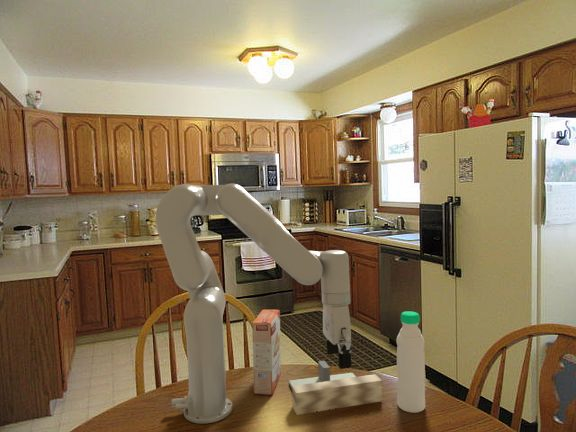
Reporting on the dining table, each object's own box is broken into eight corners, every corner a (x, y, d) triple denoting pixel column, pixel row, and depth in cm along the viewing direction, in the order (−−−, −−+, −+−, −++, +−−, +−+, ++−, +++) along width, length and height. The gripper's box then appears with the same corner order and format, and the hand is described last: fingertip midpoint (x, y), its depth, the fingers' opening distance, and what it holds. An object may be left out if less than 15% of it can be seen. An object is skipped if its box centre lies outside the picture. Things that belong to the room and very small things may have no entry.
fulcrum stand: (293, 393, 118) (293, 372, 118) (289, 383, 124) (288, 364, 123) (359, 384, 122) (359, 364, 122) (352, 375, 128) (352, 356, 128)
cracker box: (274, 396, 117) (271, 323, 115) (253, 395, 118) (250, 322, 116) (282, 374, 130) (280, 308, 129) (263, 373, 131) (261, 308, 130)
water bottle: (429, 413, 105) (428, 316, 104) (401, 414, 105) (399, 317, 104) (420, 399, 112) (419, 308, 111) (394, 400, 112) (393, 309, 111)
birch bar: (296, 415, 106) (296, 393, 106) (292, 408, 110) (292, 386, 110) (382, 401, 112) (381, 380, 112) (375, 395, 116) (375, 374, 116)
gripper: (313, 291, 117) (316, 350, 118) (332, 307, 100) (336, 376, 101) (338, 288, 119) (341, 347, 120) (361, 304, 102) (364, 371, 103)
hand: (338, 360), depth 111 cm, fingers open, 9 cm apart
